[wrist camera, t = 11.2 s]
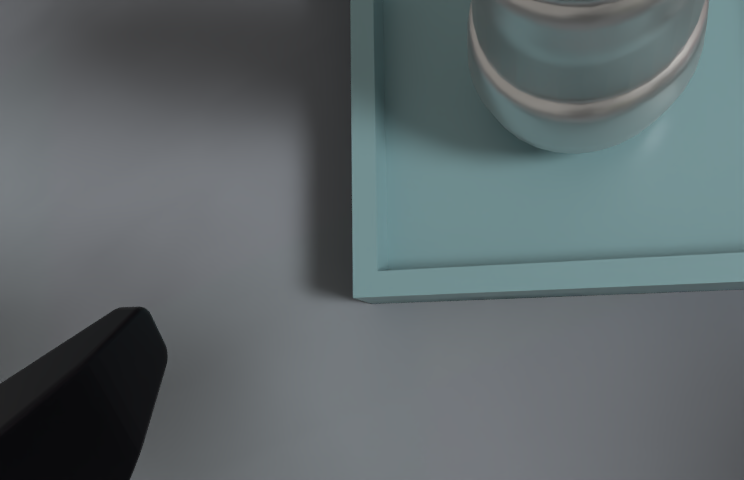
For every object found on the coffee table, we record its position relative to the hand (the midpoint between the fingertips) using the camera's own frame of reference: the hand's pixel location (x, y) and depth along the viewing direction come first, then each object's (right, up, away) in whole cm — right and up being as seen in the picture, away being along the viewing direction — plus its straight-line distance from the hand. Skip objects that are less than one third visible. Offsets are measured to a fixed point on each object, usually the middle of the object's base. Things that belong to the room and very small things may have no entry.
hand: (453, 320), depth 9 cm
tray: (+6, +7, +14) cm, 16 cm away
